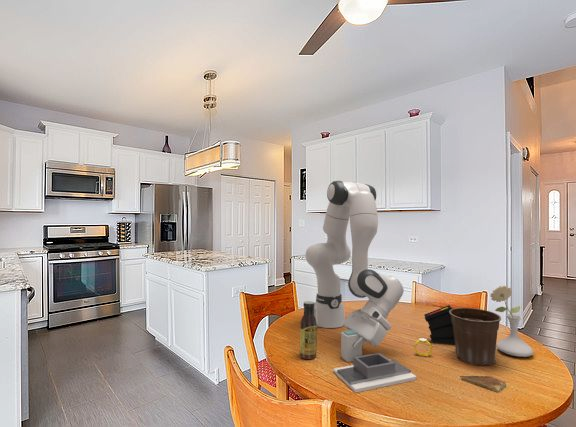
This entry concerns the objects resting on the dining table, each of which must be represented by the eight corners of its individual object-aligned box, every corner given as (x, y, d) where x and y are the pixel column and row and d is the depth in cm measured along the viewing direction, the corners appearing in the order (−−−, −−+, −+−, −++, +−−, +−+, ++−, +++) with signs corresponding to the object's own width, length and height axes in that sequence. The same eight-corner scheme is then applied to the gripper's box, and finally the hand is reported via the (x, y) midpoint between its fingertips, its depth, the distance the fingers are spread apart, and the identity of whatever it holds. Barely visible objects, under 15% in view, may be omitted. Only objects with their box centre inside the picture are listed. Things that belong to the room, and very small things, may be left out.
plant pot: (502, 373, 107) (501, 323, 107) (447, 362, 115) (446, 316, 115) (501, 355, 120) (500, 311, 121) (452, 346, 129) (451, 305, 129)
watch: (415, 356, 121) (413, 340, 121) (414, 353, 123) (413, 337, 124) (433, 357, 119) (431, 340, 119) (432, 354, 122) (430, 338, 122)
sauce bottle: (305, 361, 117) (304, 305, 117) (296, 355, 123) (296, 301, 123) (320, 357, 120) (320, 303, 120) (311, 351, 126) (311, 299, 126)
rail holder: (333, 371, 109) (333, 356, 109) (389, 361, 116) (388, 347, 116) (355, 392, 96) (355, 375, 96) (416, 379, 103) (416, 363, 103)
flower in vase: (527, 349, 126) (525, 283, 126) (538, 361, 115) (537, 290, 115) (488, 345, 130) (486, 282, 130) (495, 356, 119) (494, 287, 119)
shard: (459, 380, 103) (459, 375, 103) (469, 373, 108) (469, 367, 108) (498, 395, 95) (498, 388, 95) (507, 386, 100) (507, 380, 100)
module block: (341, 357, 120) (340, 330, 121) (355, 354, 122) (355, 328, 123) (347, 362, 116) (347, 334, 116) (362, 359, 118) (361, 332, 118)
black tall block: (470, 342, 129) (451, 306, 131) (437, 353, 132) (420, 318, 134) (468, 339, 132) (450, 304, 134) (436, 350, 136) (419, 316, 137)
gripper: (353, 302, 132) (331, 330, 128) (383, 317, 112) (359, 350, 109) (362, 312, 133) (341, 340, 130) (395, 328, 114) (371, 361, 110)
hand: (349, 345), depth 119 cm, fingers closed on module block, 4 cm apart
